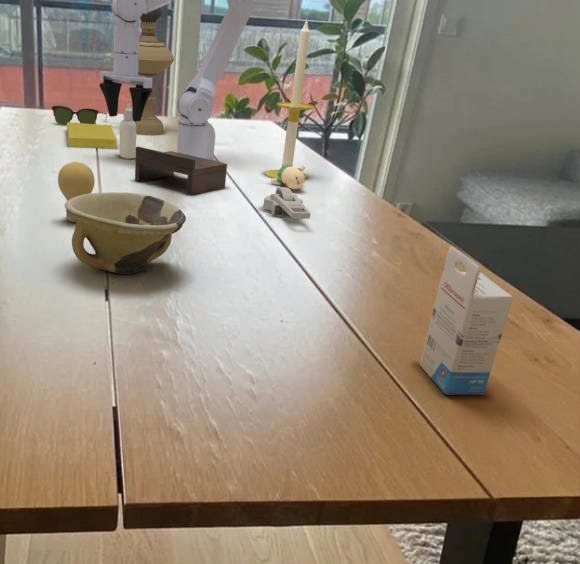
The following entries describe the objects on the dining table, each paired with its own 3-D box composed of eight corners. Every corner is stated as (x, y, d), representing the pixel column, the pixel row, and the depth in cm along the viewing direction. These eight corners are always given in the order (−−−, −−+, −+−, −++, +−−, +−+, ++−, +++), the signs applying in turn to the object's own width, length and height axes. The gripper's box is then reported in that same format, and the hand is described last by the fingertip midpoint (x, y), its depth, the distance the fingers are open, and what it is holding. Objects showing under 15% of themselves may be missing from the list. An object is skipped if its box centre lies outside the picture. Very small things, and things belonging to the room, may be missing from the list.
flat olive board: (116, 148, 199) (110, 132, 219) (116, 139, 198) (110, 124, 217) (69, 146, 197) (67, 130, 217) (69, 137, 196) (66, 122, 216)
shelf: (169, 174, 177) (171, 141, 173) (225, 187, 169) (228, 153, 165) (134, 180, 169) (135, 146, 165) (190, 195, 161) (193, 159, 157)
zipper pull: (279, 229, 142) (282, 206, 140) (258, 205, 157) (261, 183, 155) (320, 231, 143) (323, 207, 141) (296, 206, 158) (299, 184, 156)
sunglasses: (50, 123, 224) (50, 105, 222) (65, 121, 237) (65, 103, 235) (98, 128, 223) (99, 109, 220) (110, 125, 236) (111, 107, 233)
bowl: (93, 294, 108) (93, 225, 103) (49, 255, 121) (47, 192, 116) (202, 281, 115) (207, 216, 110) (150, 247, 128) (152, 187, 123)
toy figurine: (270, 190, 179) (283, 199, 168) (264, 171, 176) (277, 179, 166) (303, 175, 178) (318, 183, 168) (297, 156, 176) (312, 163, 165)
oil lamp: (117, 125, 229) (120, -35, 207) (167, 128, 231) (175, -31, 209) (120, 134, 216) (123, -36, 194) (172, 137, 218) (181, -31, 196)
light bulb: (100, 220, 140) (101, 162, 135) (82, 227, 135) (82, 167, 130) (70, 214, 142) (69, 157, 137) (52, 221, 137) (50, 162, 132)
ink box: (485, 396, 88) (525, 269, 79) (443, 396, 87) (479, 267, 79) (456, 365, 95) (490, 245, 87) (417, 364, 94) (448, 243, 86)
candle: (259, 176, 181) (278, 16, 163) (271, 169, 189) (290, 15, 171) (300, 182, 178) (324, 20, 160) (311, 174, 186) (334, 19, 168)
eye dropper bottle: (137, 155, 193) (138, 102, 186) (134, 159, 188) (136, 106, 182) (119, 154, 193) (121, 101, 186) (117, 158, 188) (118, 104, 182)
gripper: (90, 49, 174) (90, 115, 181) (138, 56, 167) (136, 124, 174) (112, 49, 179) (111, 113, 186) (159, 55, 171) (156, 122, 179)
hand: (124, 118), depth 180 cm, fingers open, 7 cm apart
